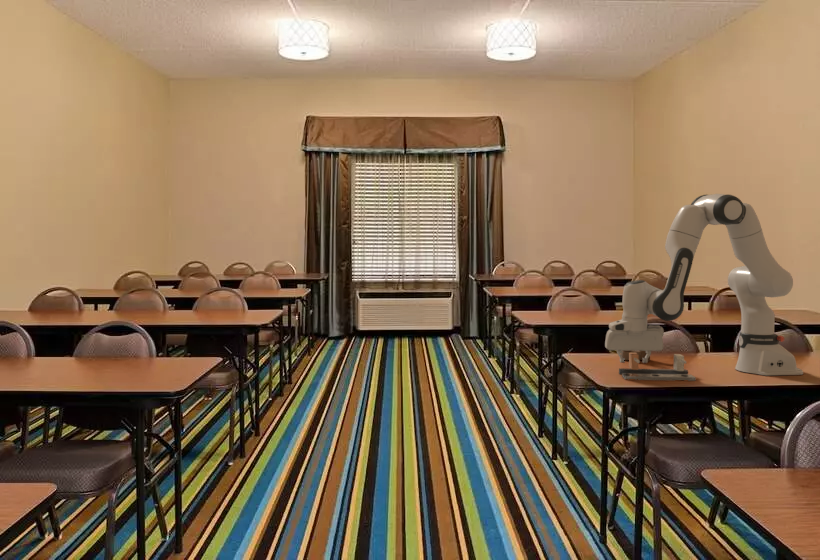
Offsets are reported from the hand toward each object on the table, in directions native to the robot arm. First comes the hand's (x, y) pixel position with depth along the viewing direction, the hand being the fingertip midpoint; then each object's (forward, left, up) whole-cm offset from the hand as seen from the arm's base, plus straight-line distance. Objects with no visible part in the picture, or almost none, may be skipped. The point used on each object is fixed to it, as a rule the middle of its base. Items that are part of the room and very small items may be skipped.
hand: (633, 362), depth 257 cm
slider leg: (0, +3, -2) cm, 3 cm away
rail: (-7, +3, -4) cm, 9 cm away
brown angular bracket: (-7, -28, -4) cm, 29 cm away
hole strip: (-7, +7, -4) cm, 11 cm away
